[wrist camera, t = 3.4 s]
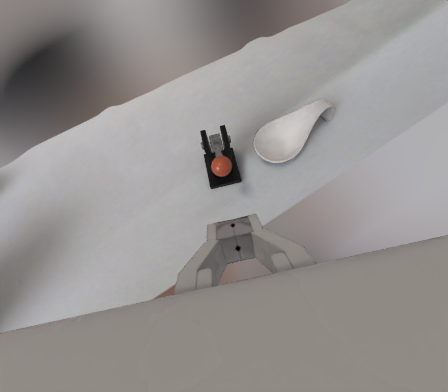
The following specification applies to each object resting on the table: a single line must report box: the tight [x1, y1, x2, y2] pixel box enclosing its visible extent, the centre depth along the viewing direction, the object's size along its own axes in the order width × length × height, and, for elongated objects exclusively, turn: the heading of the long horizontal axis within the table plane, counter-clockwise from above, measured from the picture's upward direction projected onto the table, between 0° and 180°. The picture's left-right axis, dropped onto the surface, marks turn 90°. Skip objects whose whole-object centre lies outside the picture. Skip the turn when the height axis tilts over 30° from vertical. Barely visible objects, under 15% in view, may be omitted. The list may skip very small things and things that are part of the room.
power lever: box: [209, 134, 232, 177], centre depth 29 cm, size 13×3×3 cm
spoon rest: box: [253, 99, 335, 163], centre depth 41 cm, size 24×12×7 cm, turn 126°
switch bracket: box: [200, 125, 241, 189], centre depth 37 cm, size 10×8×13 cm
